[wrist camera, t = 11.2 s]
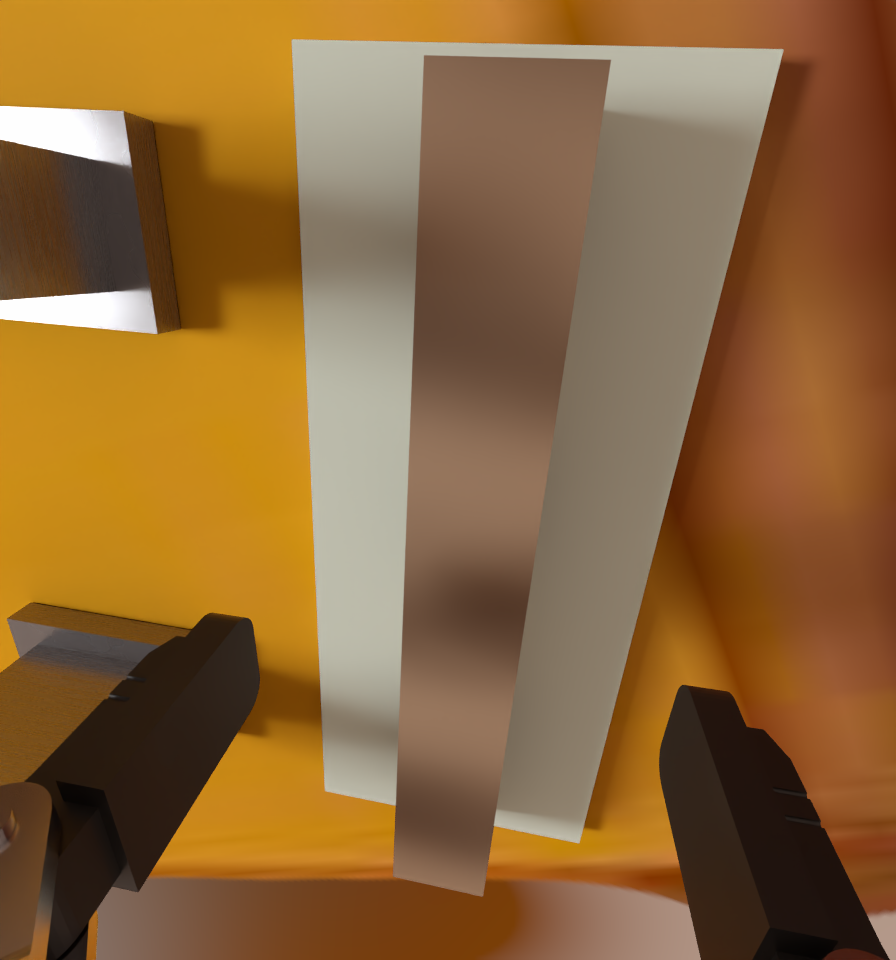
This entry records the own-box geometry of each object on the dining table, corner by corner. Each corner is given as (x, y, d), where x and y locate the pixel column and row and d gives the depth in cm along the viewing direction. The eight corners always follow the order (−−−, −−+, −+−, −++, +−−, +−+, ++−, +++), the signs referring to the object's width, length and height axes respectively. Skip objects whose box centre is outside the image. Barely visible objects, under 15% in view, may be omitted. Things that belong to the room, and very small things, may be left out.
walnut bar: (452, 103, 11) (423, 55, 9) (594, 108, 11) (611, 59, 8) (413, 792, 20) (393, 876, 17) (491, 808, 20) (482, 896, 17)
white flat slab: (303, 49, 12) (291, 39, 11) (771, 60, 11) (784, 48, 10) (330, 777, 21) (325, 791, 21) (578, 827, 20) (579, 843, 20)
